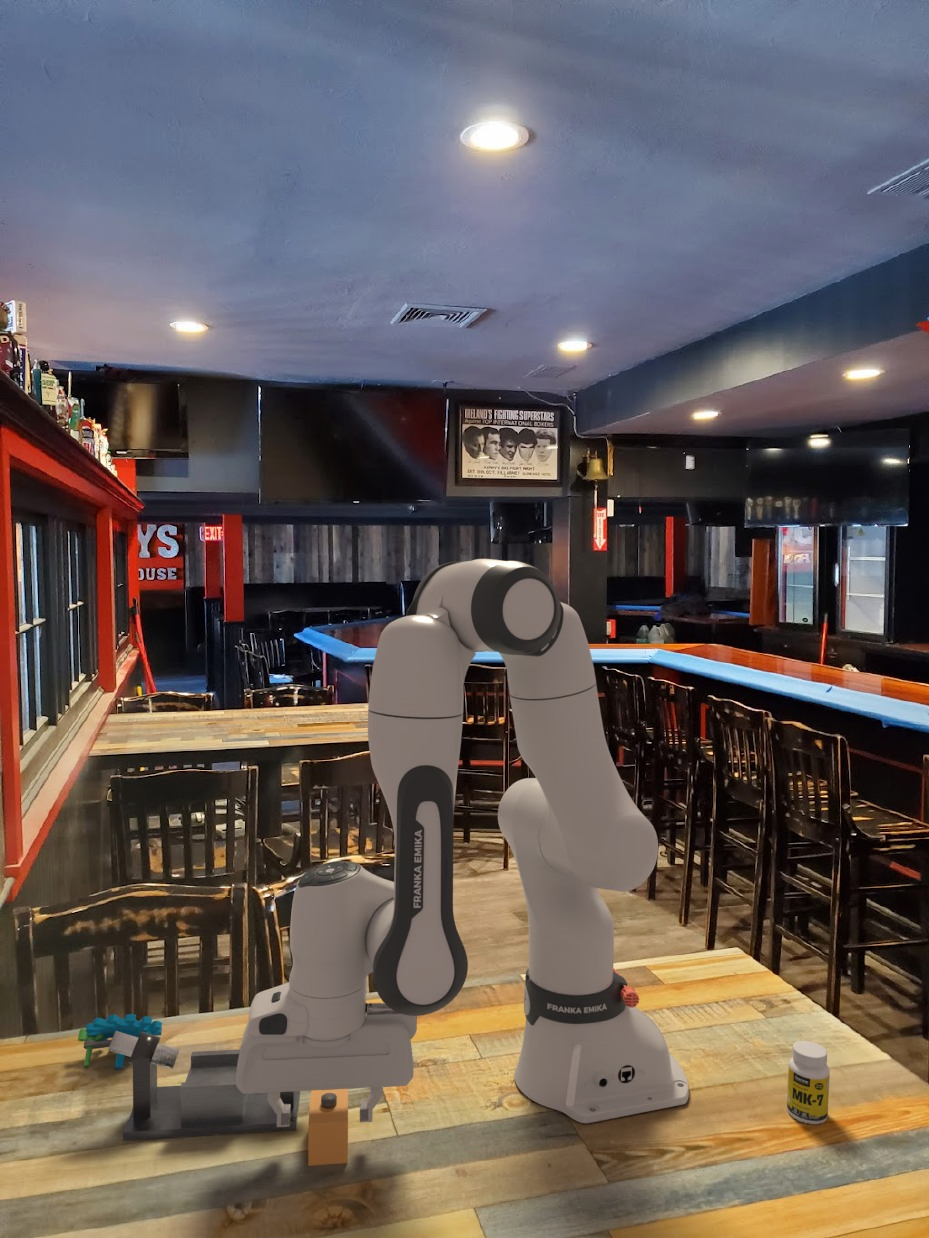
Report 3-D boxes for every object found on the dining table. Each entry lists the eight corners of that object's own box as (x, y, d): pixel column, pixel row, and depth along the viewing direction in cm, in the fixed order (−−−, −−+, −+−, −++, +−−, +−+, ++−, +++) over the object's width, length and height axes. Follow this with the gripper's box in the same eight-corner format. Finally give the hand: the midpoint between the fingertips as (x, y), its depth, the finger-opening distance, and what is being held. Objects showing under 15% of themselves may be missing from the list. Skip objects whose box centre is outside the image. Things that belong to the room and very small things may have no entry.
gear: (173, 1028, 127) (148, 1005, 119) (168, 1073, 123) (142, 1052, 115) (96, 1038, 127) (67, 1015, 119) (88, 1083, 123) (57, 1062, 115)
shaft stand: (320, 1085, 116) (320, 1004, 115) (317, 1128, 107) (317, 1041, 106) (119, 1096, 113) (118, 1013, 112) (99, 1141, 104) (97, 1052, 103)
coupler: (311, 1127, 107) (311, 1081, 107) (347, 1125, 108) (348, 1078, 108) (308, 1166, 100) (308, 1116, 100) (347, 1163, 101) (347, 1114, 101)
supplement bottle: (786, 1120, 110) (788, 1054, 109) (786, 1099, 114) (788, 1035, 113) (828, 1129, 108) (831, 1062, 107) (827, 1107, 112) (829, 1042, 112)
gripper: (415, 989, 107) (412, 1101, 108) (241, 995, 104) (239, 1109, 105) (419, 1015, 101) (416, 1133, 101) (234, 1022, 98) (232, 1143, 99)
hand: (325, 1121), depth 103 cm, fingers open, 8 cm apart
